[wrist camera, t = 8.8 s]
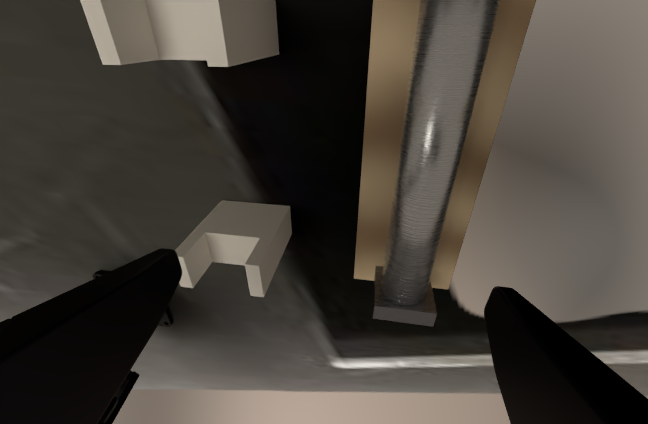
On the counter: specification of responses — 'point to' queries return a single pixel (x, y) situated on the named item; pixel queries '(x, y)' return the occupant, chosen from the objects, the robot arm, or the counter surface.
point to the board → (387, 122)
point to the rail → (431, 150)
